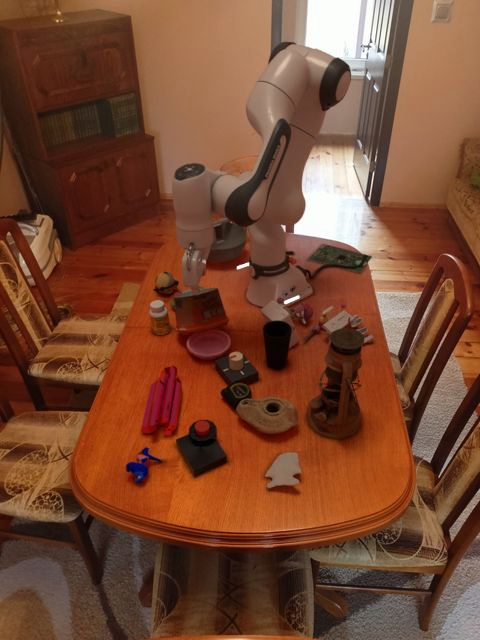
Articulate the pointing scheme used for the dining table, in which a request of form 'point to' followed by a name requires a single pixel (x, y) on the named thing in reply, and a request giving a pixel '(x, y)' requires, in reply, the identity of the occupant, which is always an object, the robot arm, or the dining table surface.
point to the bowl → (228, 244)
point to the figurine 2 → (301, 315)
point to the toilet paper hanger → (219, 230)
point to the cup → (277, 343)
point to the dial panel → (237, 371)
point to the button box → (201, 450)
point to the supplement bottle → (159, 317)
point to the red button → (202, 428)
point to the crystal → (163, 402)
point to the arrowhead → (284, 470)
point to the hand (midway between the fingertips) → (199, 283)
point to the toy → (165, 283)
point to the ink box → (279, 318)
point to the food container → (199, 311)
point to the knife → (289, 252)
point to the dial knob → (236, 360)
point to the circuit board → (339, 257)
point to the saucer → (209, 344)
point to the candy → (325, 319)
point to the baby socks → (358, 323)
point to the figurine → (140, 465)
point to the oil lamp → (268, 414)
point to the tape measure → (236, 393)
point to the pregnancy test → (336, 320)
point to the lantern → (338, 387)
